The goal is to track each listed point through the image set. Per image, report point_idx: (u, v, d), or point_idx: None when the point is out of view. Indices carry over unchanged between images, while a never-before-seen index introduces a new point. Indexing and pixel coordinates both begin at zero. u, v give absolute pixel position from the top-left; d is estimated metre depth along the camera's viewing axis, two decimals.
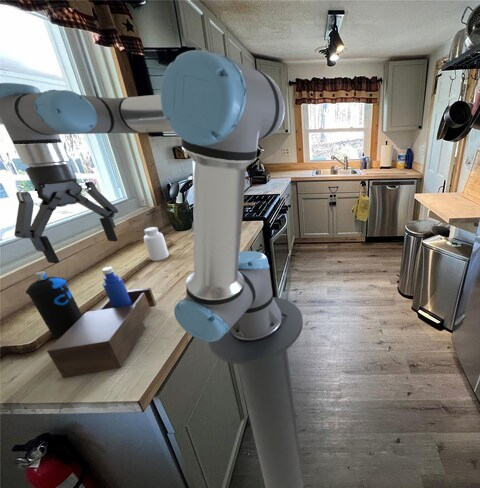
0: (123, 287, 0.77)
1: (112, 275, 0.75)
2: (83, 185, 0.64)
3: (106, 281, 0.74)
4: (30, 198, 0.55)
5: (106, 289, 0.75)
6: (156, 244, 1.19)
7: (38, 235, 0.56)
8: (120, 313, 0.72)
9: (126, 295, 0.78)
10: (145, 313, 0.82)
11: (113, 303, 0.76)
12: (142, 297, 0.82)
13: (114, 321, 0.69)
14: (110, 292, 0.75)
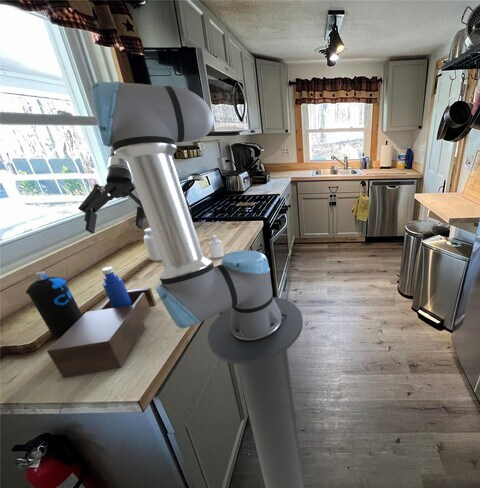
0: (123, 287, 0.77)
1: (112, 275, 0.75)
2: None
3: (106, 281, 0.74)
4: (96, 187, 0.83)
5: (106, 289, 0.75)
6: None
7: (87, 209, 0.80)
8: (120, 313, 0.72)
9: (126, 295, 0.78)
10: (145, 313, 0.82)
11: (113, 303, 0.76)
12: (142, 297, 0.82)
13: (114, 321, 0.69)
14: (110, 292, 0.75)
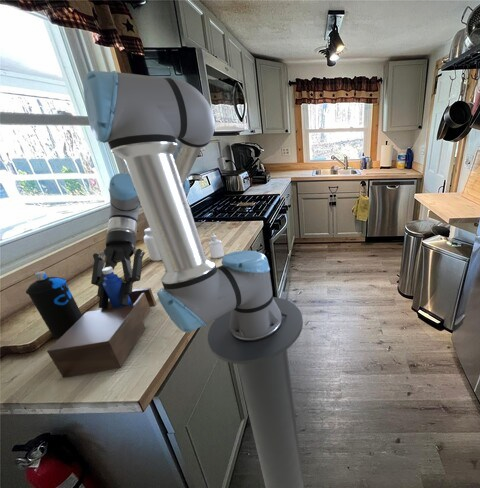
0: None
1: (112, 275, 0.75)
2: (135, 250, 0.82)
3: (106, 281, 0.74)
4: (96, 257, 0.79)
5: (106, 289, 0.75)
6: None
7: (100, 283, 0.76)
8: (120, 313, 0.72)
9: None
10: (145, 313, 0.82)
11: (113, 303, 0.76)
12: (142, 297, 0.82)
13: (114, 321, 0.69)
14: (110, 292, 0.75)
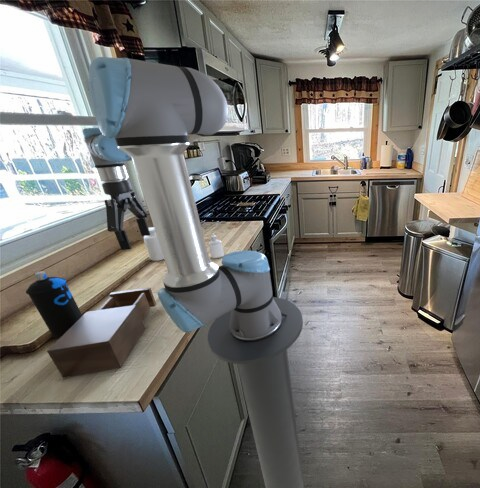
0: None
1: None
2: None
3: None
4: (115, 203, 0.80)
5: None
6: (156, 244, 1.19)
7: (122, 229, 0.81)
8: (120, 313, 0.72)
9: None
10: (145, 313, 0.82)
11: None
12: (142, 297, 0.82)
13: (114, 321, 0.69)
14: None
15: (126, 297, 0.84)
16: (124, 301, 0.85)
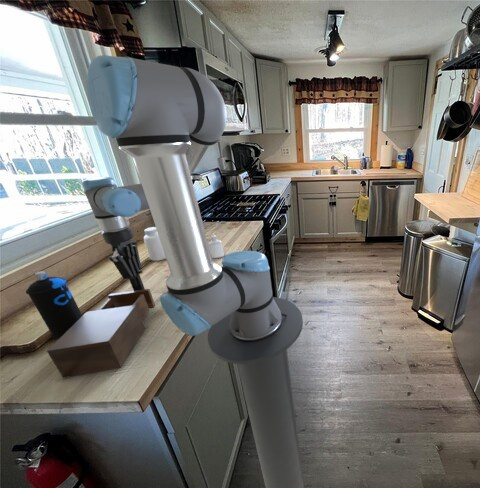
0: None
1: None
2: (131, 242, 0.87)
3: None
4: (121, 258, 0.79)
5: None
6: (156, 244, 1.19)
7: (136, 275, 0.86)
8: (120, 313, 0.72)
9: None
10: (144, 315, 0.82)
11: None
12: (141, 298, 0.81)
13: (114, 321, 0.69)
14: None
15: (125, 298, 0.83)
16: (123, 302, 0.84)
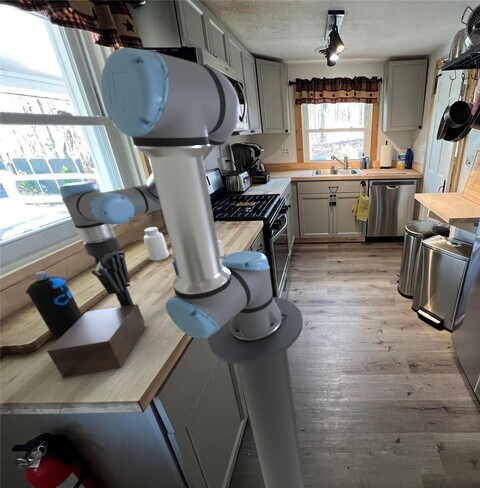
0: None
1: None
2: (118, 253, 0.80)
3: None
4: (105, 271, 0.72)
5: (175, 267, 0.91)
6: (156, 244, 1.19)
7: (123, 289, 0.78)
8: (120, 313, 0.72)
9: None
10: None
11: None
12: None
13: (114, 321, 0.69)
14: None
15: None
16: None
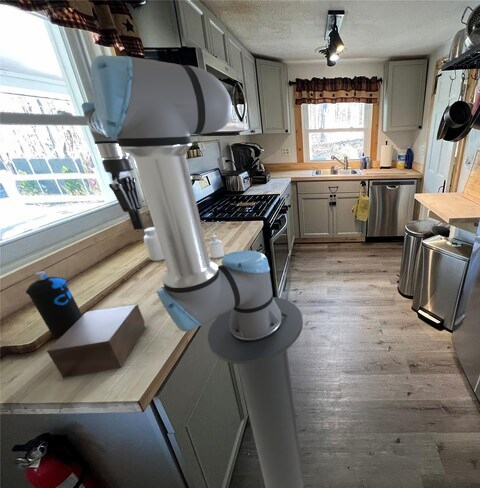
0: None
1: None
2: None
3: None
4: (120, 186, 0.80)
5: None
6: (156, 244, 1.19)
7: (135, 209, 0.87)
8: (120, 313, 0.72)
9: None
10: None
11: None
12: None
13: (114, 321, 0.69)
14: None
15: None
16: None
